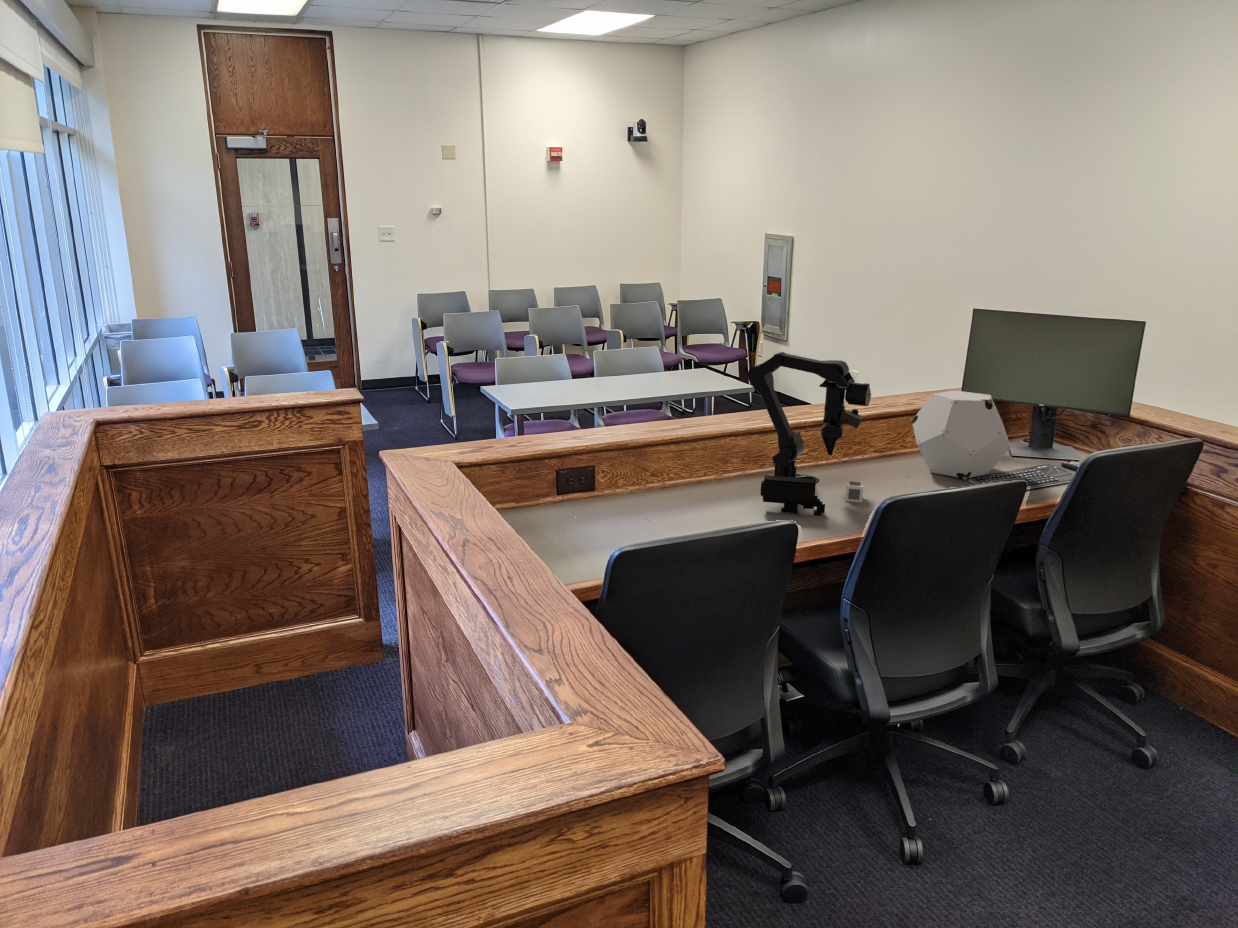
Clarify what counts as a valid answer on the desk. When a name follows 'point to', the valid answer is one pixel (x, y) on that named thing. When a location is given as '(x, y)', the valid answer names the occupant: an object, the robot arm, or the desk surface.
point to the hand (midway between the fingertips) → (830, 451)
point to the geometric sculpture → (960, 434)
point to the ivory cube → (854, 491)
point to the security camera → (791, 493)
